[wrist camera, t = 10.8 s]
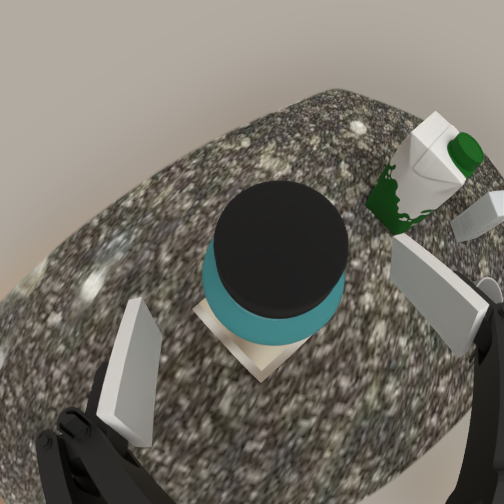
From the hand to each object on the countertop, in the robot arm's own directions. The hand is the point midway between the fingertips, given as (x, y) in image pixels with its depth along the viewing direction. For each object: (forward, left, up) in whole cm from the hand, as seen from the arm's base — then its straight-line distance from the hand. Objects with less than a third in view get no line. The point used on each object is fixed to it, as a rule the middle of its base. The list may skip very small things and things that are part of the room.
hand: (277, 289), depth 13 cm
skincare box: (+15, +35, -24) cm, 45 cm away
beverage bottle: (0, 0, -14) cm, 14 cm away
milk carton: (+2, +26, -24) cm, 35 cm away
